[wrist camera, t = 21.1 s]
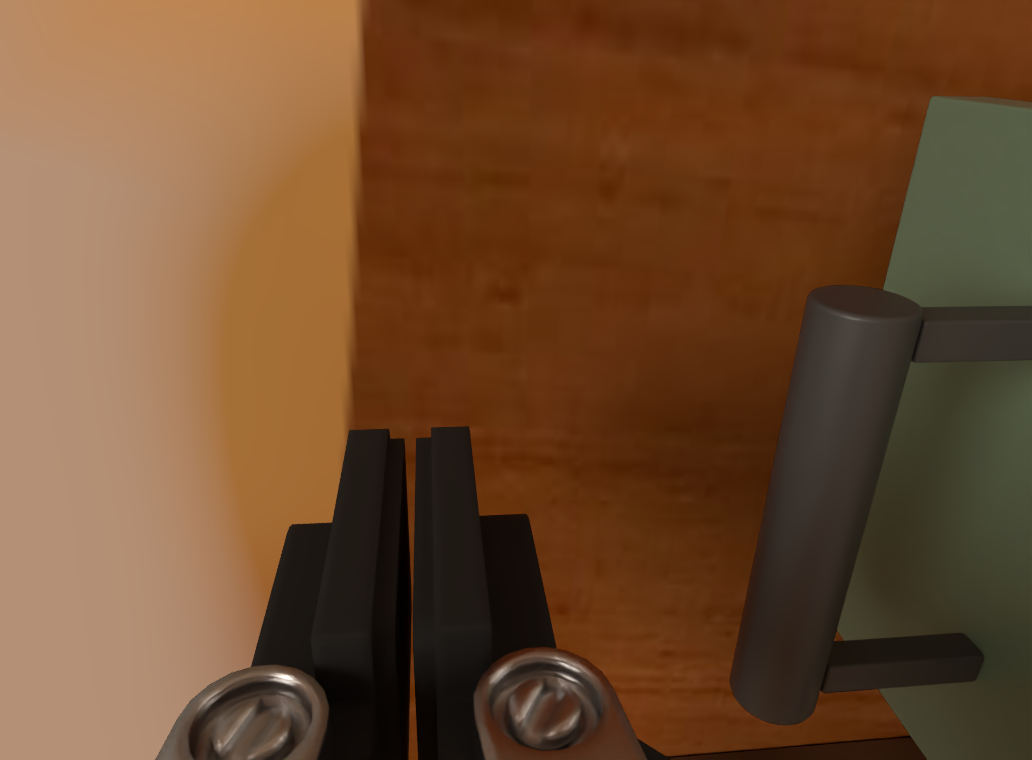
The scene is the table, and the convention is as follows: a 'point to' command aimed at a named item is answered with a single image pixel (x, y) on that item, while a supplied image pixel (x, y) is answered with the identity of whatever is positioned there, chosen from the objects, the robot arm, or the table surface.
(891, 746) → the stand
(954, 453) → the drawer
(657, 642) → the table surface
